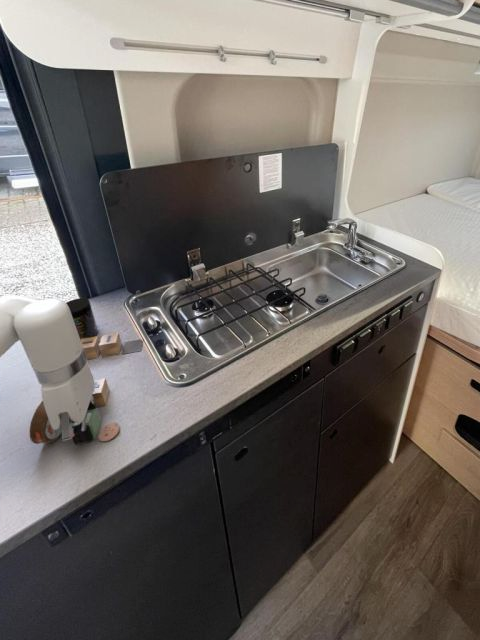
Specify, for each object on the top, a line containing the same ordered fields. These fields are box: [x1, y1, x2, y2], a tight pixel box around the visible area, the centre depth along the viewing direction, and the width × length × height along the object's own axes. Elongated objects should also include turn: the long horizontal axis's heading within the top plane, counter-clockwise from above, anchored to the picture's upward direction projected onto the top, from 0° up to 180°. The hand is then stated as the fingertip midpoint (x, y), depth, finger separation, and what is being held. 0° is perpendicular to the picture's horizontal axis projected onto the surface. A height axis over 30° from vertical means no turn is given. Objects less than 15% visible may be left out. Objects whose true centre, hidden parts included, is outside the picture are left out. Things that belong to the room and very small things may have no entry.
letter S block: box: [72, 407, 102, 440], centre depth 66 cm, size 4×4×4 cm
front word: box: [92, 377, 110, 408], centre depth 73 cm, size 4×4×4 cm
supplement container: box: [65, 297, 99, 340], centre depth 90 cm, size 7×7×10 cm
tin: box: [29, 400, 62, 445], centre depth 68 cm, size 15×3×8 cm, turn 4°
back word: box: [81, 332, 144, 361], centre depth 87 cm, size 14×5×4 cm, turn 107°
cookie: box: [97, 422, 120, 442], centre depth 66 cm, size 4×4×1 cm
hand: (87, 429), depth 66 cm, fingers closed on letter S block, 4 cm apart
